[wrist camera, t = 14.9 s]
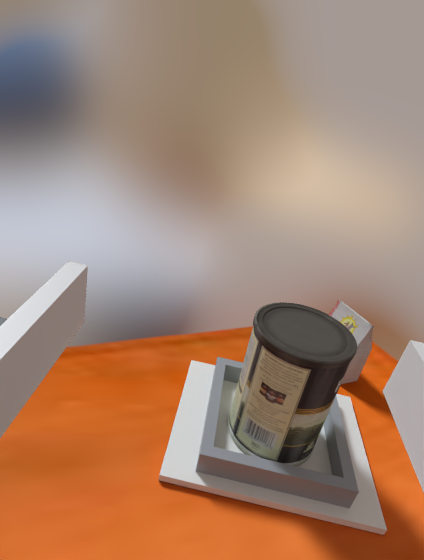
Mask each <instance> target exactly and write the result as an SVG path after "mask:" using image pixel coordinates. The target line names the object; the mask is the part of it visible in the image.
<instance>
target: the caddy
mask: <svg viewBox="0 0 424 560" xmlns="http://www.w3.org/2000/svg"><path fill="white" fill-rule="evenodd" d="M242 366H243V363H242V362H238V361H233V360H229V359H225V358H220V357H217V361H216V365H210V364H206V363H202V362H197V361H193V360H191V364H190V367H189V371H188V375H187V378H186V382H185V385H184V389H183V393H182V396H181V400H180V403H179V407H178V410H177V414H176V418H175V421H174V425H173V428H172V432H171V436H170V439H169V443H168V446H167V450H166V454H165V457H164V461H163V464H162V468H161V472H160V475H159V481H163V482H167V483H171V484H175V485H180V486H184V487H188V488H192V489H196V490H200V491H204V492H208V493H213V494H217V495H221V496H225V497H229V498H233V499H237V500H241V501H246V502H250V503H254V504H258V505H262V506H266V507H270V508H274V509H279V510H283V511H287V512H291V513H295V514H299V515H303V516H307V517H312V518H316V519H320V520H324V521H328V522H332V523H336V524H340V525H345V526H349V527H353V528H357V529H361V530H365V531H369V532H373V533H378V534H382V535H384V534H385V532H386V531H387V528H386V524H385V521H384V517H383V514H382V510H381V506H380V503H379V499H378V496H377V492H376V489H375V485H374V481H373V478H372V474H371V471H370V467H369V463H368V460H367V456H366V453H365V449H364V445H363V442H362V438H361V435H360V431H359V427H358V424H357V420H356V417H355V413H354V410H353V406H352V402H351V399H350V397H348V396H343V395H339V394H336V396H335V399H334V401H333V403H332V406H331V408H330V410H329V413H328V415H327V417H326V420H325V422H324V425H323V427H322V429H321V432H320V434H319V437H318V439H317V441H316V444H315V447H314V450H313V453H312V455H311V456H310V458H309V459H308V460H307V461H305V462H304V463H302V464H300V465H298V466H292V465H288V464H284V463H279V462H275V461H271V460H267V459H263V458H259V457H254V456H250V455H247V454H245V453H244V452H243V451H242V450H241V449H240V448H239V447H238V446H237V445H236V443H235V442H234V440H233V439H232V437H231V435H230V432H229V429H228V422H227V420H228V415H229V412H230V410H231V407H232V403H233V400H234V396H235V392H236V389H237V385H238V381H239V378H240V374H241V370H242Z"/></svg>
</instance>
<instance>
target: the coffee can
mask: <svg viewBox="0 0 424 560" xmlns="http://www.w3.org/2000/svg"><path fill="white" fill-rule="evenodd" d="M356 351H357V343H356V340H355V338H354V336H353V334H352V333H351V332H350V331H349V330H348V328H347V327H345V326H344V325H343V324H342V323H340V322H339V321H338V320H336V319H335V318H333V317H331V316H330V315H328V314H326V313H323V312H321V311H319V310H316V309H314V308H311V307H307V306H304V305H300V304H294V303H272V304H268V305H265V306H263V307H261V308H260V309H259V310H258V311H257V312H256V314H255V317H254V321H253V329H252V333H251V337H250V341H249V344H248V348H247V352H246V355H245V359H244V363H243V366H242V370H241V374H240V378H239V381H238V385H237V389H236V392H235V396H234V400H233V403H232V407H231V410H230V412H229V415H228V420H227V422H228V429H229V432H230V435H231V437H232V439H233V440H234V442H235V443H236V445H237V446H238V447H239V448H240V449H241V450H242V451H243V452H244V453H245V454H247V455H250V456H254V457H259V458H263V459H267V460H271V461H275V462H279V463H284V464H288V465H292V466H298V465H300V464H302V463H304V462H305V461H307V460H308V459H309V458H310V456H311V455H312V453H313V450H314V447H315V444H316V441H317V439H318V437H319V434H320V432H321V429H322V427H323V425H324V422H325V420H326V417H327V415H328V413H329V410H330V408H331V406H332V403H333V401H334V399H335V396H336V394H337V392H338V390H339V387H340V385H341V383H342V380H343V378H344V376H345V373H346V371H347V369H348V366H349V364H350V361H351V360H352V359H353V358H354V356H355V354H356Z"/></svg>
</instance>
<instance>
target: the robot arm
mask: <svg viewBox="0 0 424 560" xmlns="http://www.w3.org/2000/svg"><path fill="white" fill-rule="evenodd" d="M87 268H88V266H87V265H83V264H78V263H74V262H68V263H67V264H65V265H64V266H63V267H62V268H61V269H60V270H59V271H58V272H57V273H56V274H55V275H54V276H53V277H52V278H51V279H50V280H49V281H47V282H46V283H45V284H44V285H43V286H42V287H41V288H40V289H39V290H38V291H37V292H36V293H35V294H34V295H33V296H32V297H31V298H29V299H28V300H27V301H26V302H25V303H24V304H23V305H22V306H21V307H20V308H19V309H18V310H17V311H16V312H15V313H14V314H13V315H11V316H10V317H9V318H8V319H5V318H1V317H0V438H1V437H2V435H3V434H4V433H5V431H6V430H7V428H8V427H9V426H10V424H11V423H12V421H13V420H14V419H15V417H16V416H17V415H18V413H19V412H20V410H21V409H22V408H23V406H24V405H25V403H26V402H27V401H28V399H29V398H30V397H31V395H32V394H33V392H34V391H35V390H36V388H37V387H38V386H39V384H40V383H41V381H42V380H43V379H44V377H45V376H46V374H47V373H48V372H49V370H50V369H51V368H52V366H53V365H54V363H55V362H56V361H57V359H58V358H59V356H60V355H61V354H62V352H63V351H64V350H65V348H66V347H67V345H68V344H69V343H70V341H71V340H72V338H73V337H74V336H75V334H76V333H77V332H78V330H79V329H80V327H81V326H82V325H83V323H84V317H85V301H86V300H85V299H86V284H87V283H86V282H87ZM383 393H384V396H385V398H386V401H387V403H388V406H389V408H390V411H391V413H392V416H393V418H394V421H395V423H396V426H397V428H398V430H399V433H400V435H401V438H402V440H403V443H404V445H405V448H406V450H407V453H408V455H409V458H410V460H411V463H412V465H413V467H414V470H415V472H416V475H417V477H418V480H419V482H420V485H421V487H422V490H423V492H424V343H421V342H416V341H412V340H410V342H409V344H408V346H407V348H406V349H405V351H404V353H403V355H402V357H401V358H400V360H399V362H398V364H397V366H396V368H395V369H394V371H393V373H392V375H391V377H390V379H389V380H388V382H387V384H386V386H385V388H384V390H383Z"/></svg>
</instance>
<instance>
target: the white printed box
mask: <svg viewBox="0 0 424 560" xmlns="http://www.w3.org/2000/svg"><path fill="white" fill-rule="evenodd" d="M329 315H330V316H331V317H333V318H335V319H336V320H338V321H339V322H340V323H342V324H343V325H344V326H345V327H347V328H348V330H349V331H350V332H351V333H352V334H353V336H354V338H355V340H356V343H357V351H356V354H355V356H354V358H353V359H352V360H351V361H350V364H349V366H348V369H347V371H346V373H345V376H344V378H343V380H342V383H341V384H345V383H350V382H354V381H357V380H358V378H359V375H360V373H361V371H362V369H363V367H364V364H365V362H366V360H367V358H368V356H369V354H370V351H371V349H372V331H373V325H371V324H370V323H369V322H367V321H366V320H365V319H364V318H362V317H361V316H360V315H358V314H357V313H356V312H355V311H353V310H352V309H351V308H350V307H348V306H347V305H346V304H344V303H343V302H342V301H338V302H337V304H336V305H335V307H334V308H333V310H332V311H331V312H330V314H329Z"/></svg>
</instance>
